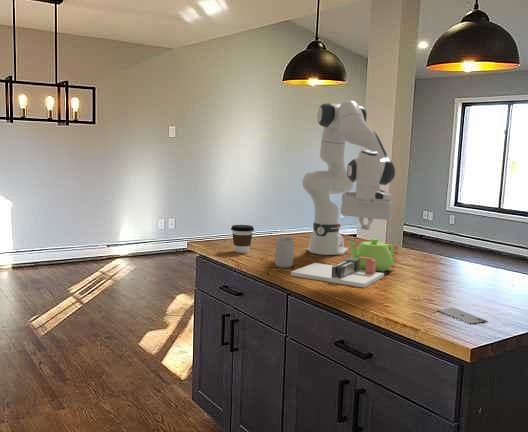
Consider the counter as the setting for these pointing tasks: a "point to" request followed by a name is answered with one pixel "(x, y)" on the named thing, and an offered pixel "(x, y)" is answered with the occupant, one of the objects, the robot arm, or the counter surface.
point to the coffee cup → (242, 237)
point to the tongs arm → (334, 268)
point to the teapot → (374, 254)
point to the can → (284, 252)
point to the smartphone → (462, 315)
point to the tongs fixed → (348, 267)
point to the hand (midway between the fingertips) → (365, 229)
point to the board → (325, 274)
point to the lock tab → (369, 264)
